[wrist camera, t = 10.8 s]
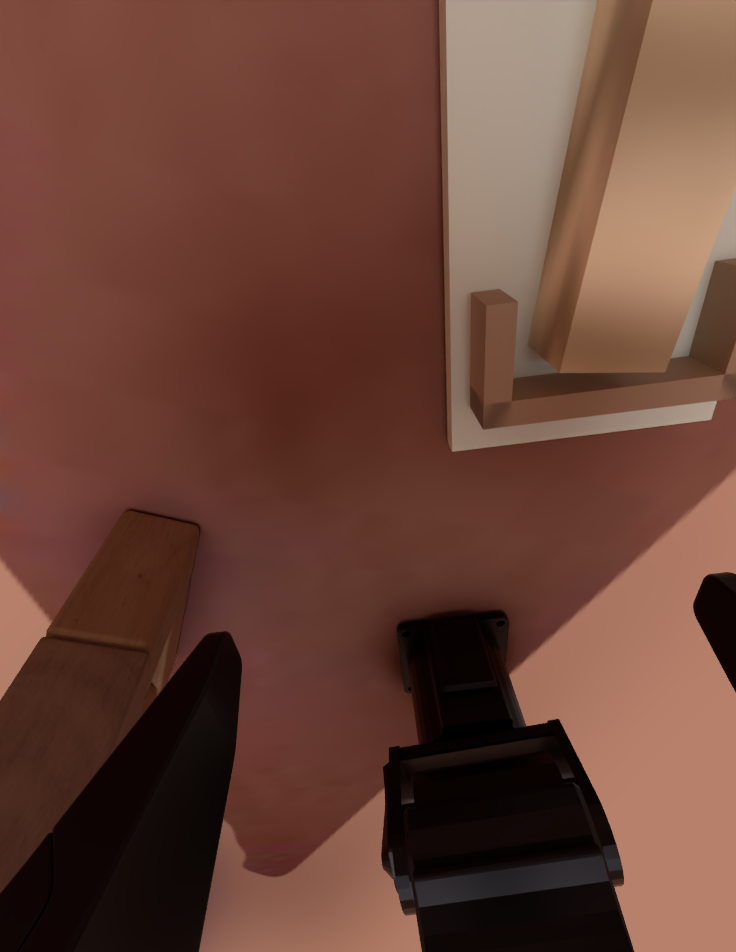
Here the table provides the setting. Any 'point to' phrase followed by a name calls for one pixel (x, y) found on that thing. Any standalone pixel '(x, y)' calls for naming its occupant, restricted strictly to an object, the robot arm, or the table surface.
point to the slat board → (541, 241)
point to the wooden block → (91, 676)
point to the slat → (639, 185)
